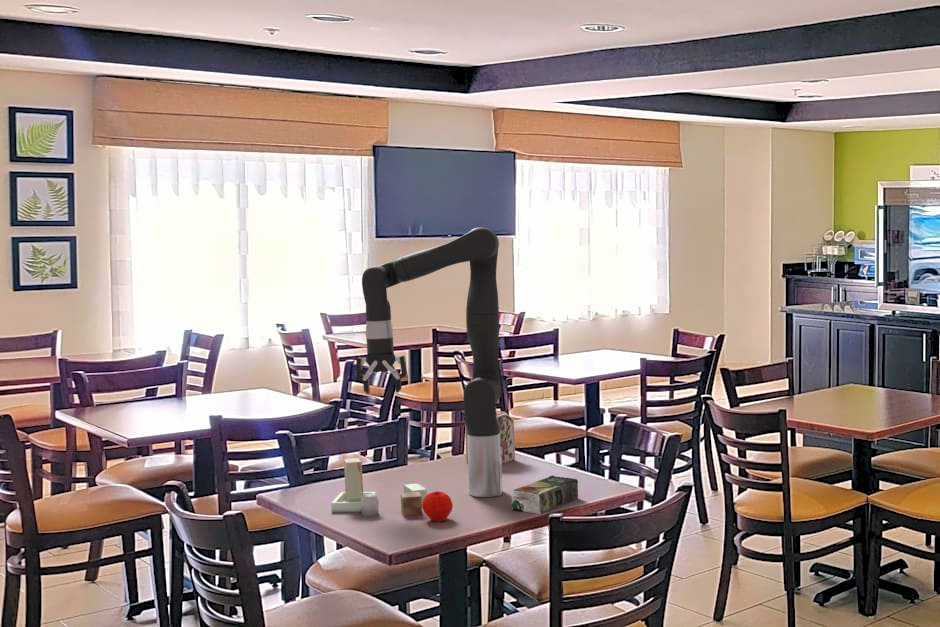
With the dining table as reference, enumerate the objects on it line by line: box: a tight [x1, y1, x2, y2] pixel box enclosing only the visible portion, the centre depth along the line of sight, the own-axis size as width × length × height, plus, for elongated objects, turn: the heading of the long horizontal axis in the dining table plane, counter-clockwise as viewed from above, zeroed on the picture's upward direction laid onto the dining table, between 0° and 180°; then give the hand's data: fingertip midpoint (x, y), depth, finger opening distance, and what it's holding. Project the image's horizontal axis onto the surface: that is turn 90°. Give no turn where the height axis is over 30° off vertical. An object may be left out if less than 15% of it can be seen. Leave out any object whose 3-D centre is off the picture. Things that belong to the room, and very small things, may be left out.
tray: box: [330, 491, 377, 513], centre depth 290 cm, size 10×12×2 cm
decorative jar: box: [464, 410, 516, 464], centre depth 341 cm, size 12×12×18 cm
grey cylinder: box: [361, 493, 380, 517], centre depth 281 cm, size 4×4×5 cm
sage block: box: [403, 483, 428, 502], centre depth 294 cm, size 8×4×4 cm, turn 22°
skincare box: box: [343, 457, 364, 502], centre depth 290 cm, size 6×4×12 cm
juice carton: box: [511, 475, 579, 515], centre depth 286 cm, size 20×10×6 cm, turn 142°
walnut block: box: [400, 492, 423, 517], centre depth 281 cm, size 5×5×5 cm
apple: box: [422, 490, 454, 522], centre depth 273 cm, size 8×8×7 cm
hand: (382, 392), depth 301 cm, fingers open, 8 cm apart
